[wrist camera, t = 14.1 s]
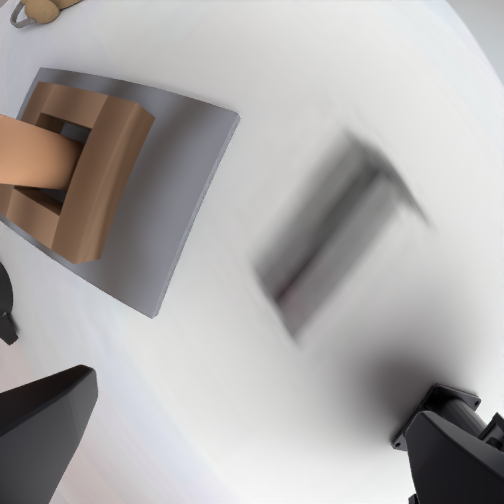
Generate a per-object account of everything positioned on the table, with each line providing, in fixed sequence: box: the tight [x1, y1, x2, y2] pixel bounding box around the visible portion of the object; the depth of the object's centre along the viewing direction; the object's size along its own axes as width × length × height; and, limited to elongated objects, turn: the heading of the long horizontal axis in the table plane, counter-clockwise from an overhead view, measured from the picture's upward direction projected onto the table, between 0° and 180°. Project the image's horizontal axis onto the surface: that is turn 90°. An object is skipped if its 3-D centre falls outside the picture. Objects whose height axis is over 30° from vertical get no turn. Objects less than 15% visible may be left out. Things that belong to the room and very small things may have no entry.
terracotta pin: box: [0, 114, 85, 191], centre depth 12 cm, size 4×4×13 cm
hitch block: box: [0, 68, 240, 319], centre depth 17 cm, size 20×14×4 cm
